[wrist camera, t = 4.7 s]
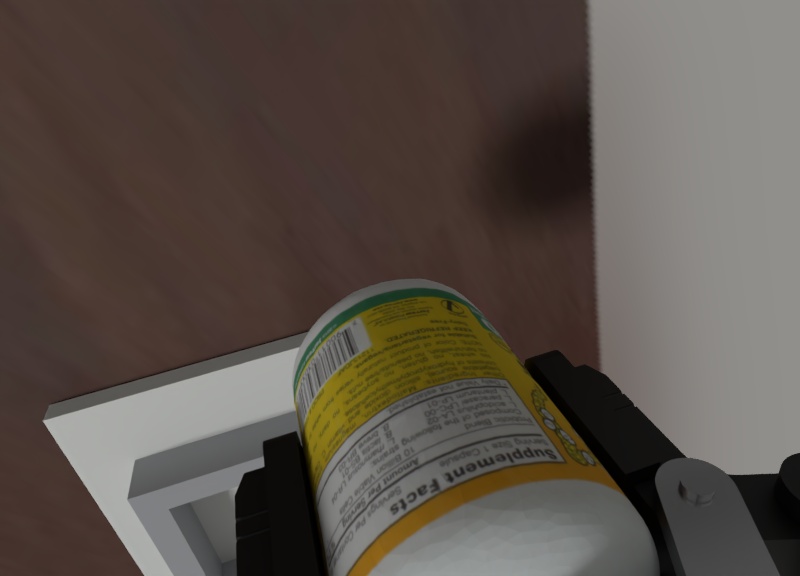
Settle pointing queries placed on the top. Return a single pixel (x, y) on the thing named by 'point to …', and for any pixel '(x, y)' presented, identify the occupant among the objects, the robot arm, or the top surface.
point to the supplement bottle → (448, 450)
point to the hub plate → (180, 452)
